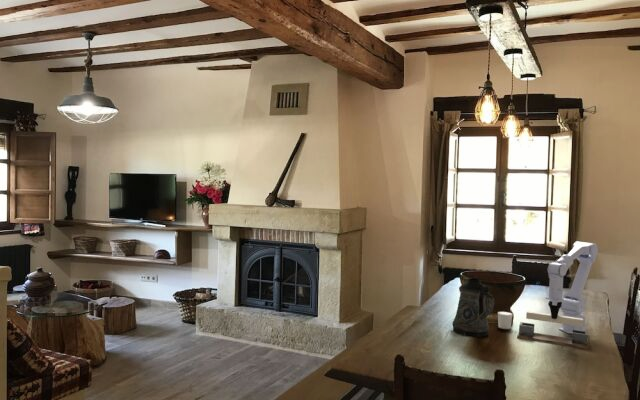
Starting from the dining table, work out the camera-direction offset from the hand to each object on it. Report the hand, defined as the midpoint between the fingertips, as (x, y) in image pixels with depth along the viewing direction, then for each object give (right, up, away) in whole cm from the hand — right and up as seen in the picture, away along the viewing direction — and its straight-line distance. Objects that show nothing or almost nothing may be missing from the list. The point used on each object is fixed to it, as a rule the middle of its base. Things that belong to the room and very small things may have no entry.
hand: (554, 317), depth 251 cm
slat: (0, -2, 0) cm, 2 cm away
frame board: (-4, -9, -8) cm, 12 cm away
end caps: (-4, -9, -8) cm, 12 cm away
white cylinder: (-19, -7, +11) cm, 24 cm away
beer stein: (-38, -7, 0) cm, 38 cm away
